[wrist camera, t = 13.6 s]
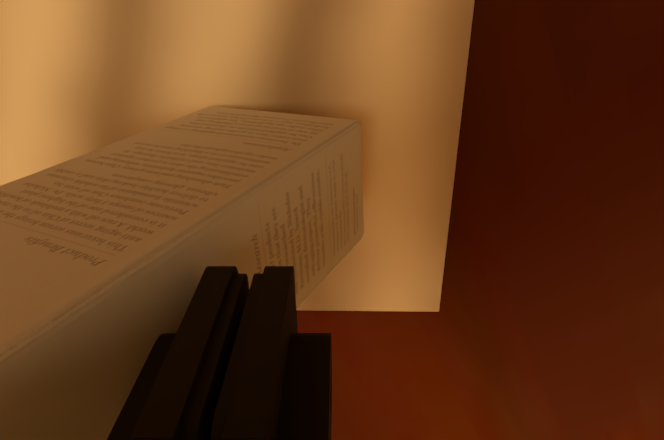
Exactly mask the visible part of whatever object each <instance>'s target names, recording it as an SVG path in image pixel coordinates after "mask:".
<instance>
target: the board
mask: <svg viewBox="0 0 664 440" xmlns="http://www.w3.org/2000/svg"><path fill="white" fill-rule="evenodd" d="M474 2H475V0H0V186H2V185H4V184H6V183H9V182H12V181H14V180H17V179H20V178H23V177H26V176H29V175H31V174H34V173H36V172H39V171H42V170H44V169H47V168H49V167H52V166H55V165H57V164H60V163H62V162H65V161H68V160H71V159H73V158H76V157H79V156H81V155H84V154H86V153H89V152H91V151H94V150H97V149H99V148H102V147H105V146H107V145H110V144H112V143H115V142H117V141H120V140H122V139H125V138H127V137H130V136H133V135H136V134H138V133H141V132H144V131H146V130H149V129H151V128H154V127H156V126H159V125H162V124H164V123H167V122H170V121H173V120H175V119H177V118H180V117H183V116H186V115H188V114H191V113H194V112H196V111H199V110H201V109H204V108H207V107H210V106H217V107H226V108H235V109H246V110H258V111H268V112H279V113H290V114H300V115H311V116H321V117H331V118H340V119H353V120H358V121H359V122H360V123H361V159H362V190H363V218H364V233H363V236H362V238H361V240H360V241H359V242H358V243H357V244H356V245H355V246H354V247H353V248H352V249H351V251H350V252H349V253H348V254H347V255H346V256H345V257H344V258H343V259H342V260H341V261H340V262H339V263H338V265H337V266H336V267H335V268H334V269H333V270H332V271H331V272H330V273H329V274H328V275H327V276H326V277H325V279H324V280H323V281H322V282H321V283H320V284H319V285H318V286H317V287H316V288H315V289H314V290H313V291H312V292H311V294H310V295H309V296H308V297H307V298H306V299H305V300H304V301H303V302H302V303H301V304H300V305H299V306H298V307H297V308H296V310H314V311H424V312H439V307H440V298H441V289H442V281H443V272H444V263H445V254H446V246H447V237H448V228H449V219H450V211H451V202H452V193H453V185H454V176H455V167H456V158H457V150H458V141H459V132H460V124H461V115H462V106H463V97H464V89H465V80H466V71H467V63H468V54H469V45H470V36H471V28H472V19H473V10H474Z"/></svg>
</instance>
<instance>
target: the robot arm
mask: <svg viewBox="0 0 664 440" xmlns="http://www.w3.org/2000/svg"><path fill="white" fill-rule="evenodd" d="M331 416H332V351H331V333H298V332H297V313H296V294H295V275H294V267H293V266H265V268H264V271H263V273H255V274H254V275H253V279H252V282H251V286H250V289H249V283H248V276H247V274H238V270H237V267H236V266H208V267H206V269H205V270H204V273H203V275H202V277H201V279H200V282H199V284H198V286H197V288H196V290H195V293H194V295H193V297H192V299H191V302H190V304H189V306H188V308H187V311H186V313H185V315H184V317H183V319H182V322H181V324H180V326H179V328H178V331H177V333H163V334H161V335H160V336H159V337H158V338H157V340H156V341H155V343H154V345H153V347H152V349H151V351H150V353H149V355H148V357H147V359H146V361H145V364H144V366H143V368H142V370H141V372H140V374H139V376H138V378H137V380H136V382H135V384H134V386H133V388H132V390H131V392H130V394H129V396H128V398H127V400H126V402H125V404H124V406H123V408H122V410H121V412H120V414H119V416H118V418H117V420H116V422H115V424H114V426H113V428H112V430H111V432H110V434H109V436H108V438H107V440H331Z"/></svg>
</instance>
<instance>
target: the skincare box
mask: <svg viewBox="0 0 664 440" xmlns="http://www.w3.org/2000/svg"><path fill="white" fill-rule="evenodd" d="M363 233H364V218H363V190H362V159H361V123H360V122H359V121H358V120H353V119H340V118H331V117H321V116H311V115H300V114H290V113H279V112H268V111H258V110H246V109H235V108H226V107H217V106H210V107H207V108H204V109H201V110H199V111H196V112H194V113H191V114H188V115H186V116H183V117H180V118H177V119H175V120H173V121H170V122H167V123H164V124H162V125H159V126H156V127H154V128H151V129H149V130H146V131H144V132H141V133H138V134H136V135H133V136H130V137H127V138H125V139H122V140H120V141H117V142H115V143H112V144H110V145H107V146H105V147H102V148H99V149H97V150H94V151H91V152H89V153H86V154H84V155H81V156H79V157H76V158H73V159H71V160H68V161H65V162H62V163H60V164H57V165H55V166H52V167H49V168H47V169H44V170H42V171H39V172H36V173H34V174H31V175H29V176H26V177H23V178H20V179H17V180H14V181H12V182H9V183H6V184H4V185H2V186H0V440H107V438H108V436H109V434H110V432H111V430H112V428H113V426H114V424H115V422H116V420H117V418H118V416H119V414H120V412H121V410H122V408H123V406H124V404H125V402H126V400H127V398H128V396H129V394H130V392H131V390H132V388H133V386H134V384H135V382H136V380H137V378H138V376H139V374H140V372H141V370H142V368H143V366H144V364H145V361H146V359H147V357H148V355H149V353H150V351H151V349H152V347H153V345H154V343H155V341H156V340H157V338H158V337H159V336H160V335H161V334H163V333H177V331H178V328H179V326H180V324H181V322H182V319H183V317H184V315H185V313H186V311H187V308H188V306H189V304H190V302H191V299H192V297H193V295H194V293H195V290H196V288H197V286H198V284H199V282H200V279H201V277H202V275H203V273H204V270H205V269H206V267H208V266H236V267H237V270H238V274H247V276H248V283H249V289H250V286H251V282H252V279H253V275H254V274H255V273H263V271H264V268H265V266H293V267H294V275H295V294H296V308H297V307H298V306H299V305H300V304H301V303H302V302H303V301H304V300H305V299H306V298H307V297H308V296H309V295H310V294H311V292H312V291H313V290H314V289H315V288H316V287H317V286H318V285H319V284H320V283H321V282H322V281H323V280H324V279H325V277H326V276H327V275H328V274H329V273H330V272H331V271H332V270H333V269H334V268H335V267H336V266H337V265H338V263H339V262H340V261H341V260H342V259H343V258H344V257H345V256H346V255H347V254H348V253H349V252H350V251H351V249H352V248H353V247H354V246H355V245H356V244H357V243H358V242H359V241H360V240H361V238H362V236H363Z"/></svg>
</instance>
